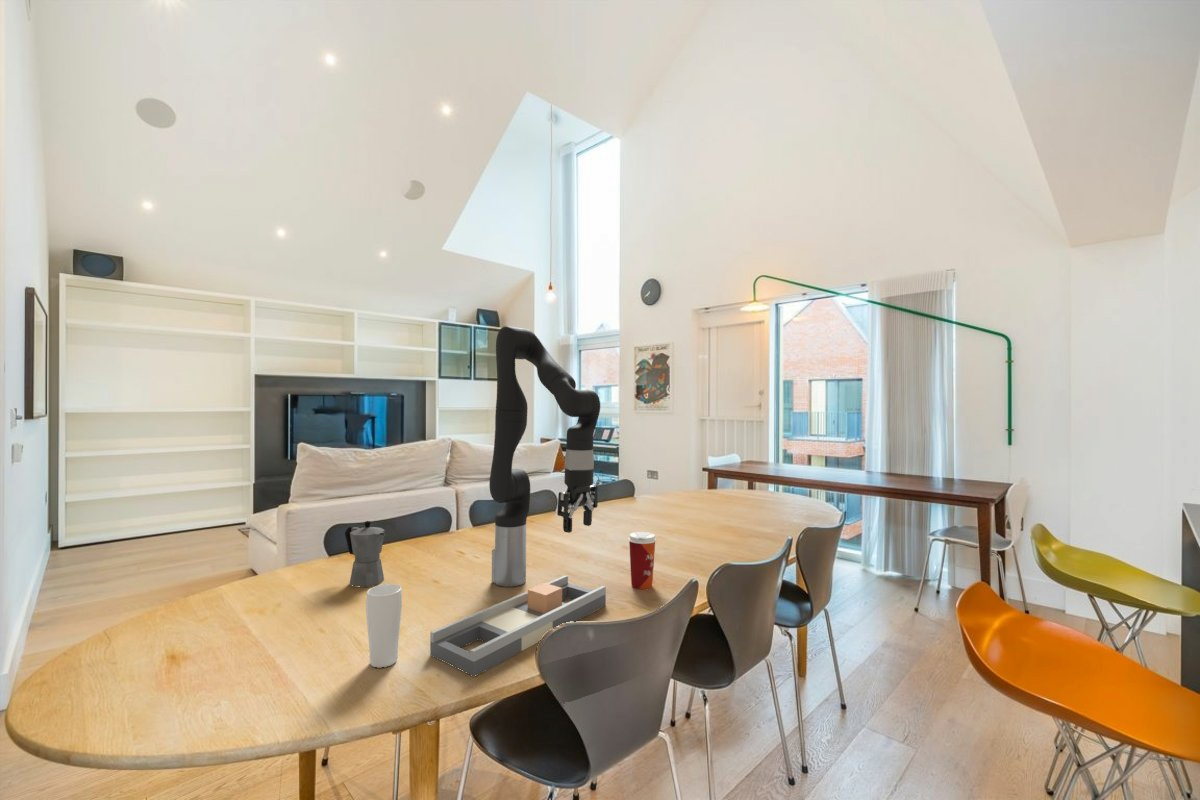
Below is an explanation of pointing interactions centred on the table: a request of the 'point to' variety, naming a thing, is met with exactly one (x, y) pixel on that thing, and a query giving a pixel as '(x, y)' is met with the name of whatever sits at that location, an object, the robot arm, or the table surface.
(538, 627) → the track
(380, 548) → the coffeepot
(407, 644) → the table surface
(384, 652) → the drinking glass
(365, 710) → the table surface
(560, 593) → the block
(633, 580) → the coffee cup
